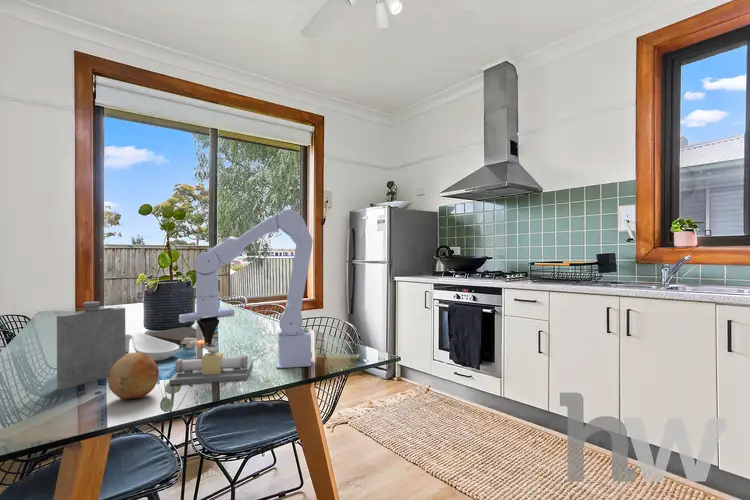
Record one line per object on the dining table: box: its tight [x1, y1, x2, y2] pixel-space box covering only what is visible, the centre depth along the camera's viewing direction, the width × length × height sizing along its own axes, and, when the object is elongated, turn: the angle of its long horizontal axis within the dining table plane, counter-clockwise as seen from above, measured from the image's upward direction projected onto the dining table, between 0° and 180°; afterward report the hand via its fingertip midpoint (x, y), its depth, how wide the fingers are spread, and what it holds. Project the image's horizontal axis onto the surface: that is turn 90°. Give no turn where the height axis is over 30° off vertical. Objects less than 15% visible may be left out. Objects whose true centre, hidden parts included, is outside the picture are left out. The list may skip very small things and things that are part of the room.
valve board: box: [169, 352, 254, 386], centre depth 107 cm, size 18×14×6 cm
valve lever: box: [194, 340, 219, 353], centre depth 108 cm, size 11×2×2 cm, turn 43°
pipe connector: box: [183, 324, 217, 359], centre depth 124 cm, size 10×10×10 cm
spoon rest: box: [125, 332, 180, 362], centre depth 125 cm, size 24×12×7 cm, turn 66°
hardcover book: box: [145, 326, 219, 346], centre depth 154 cm, size 16×23×2 cm
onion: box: [107, 352, 160, 400], centre depth 89 cm, size 10×10×10 cm
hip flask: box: [56, 301, 127, 391], centre depth 103 cm, size 16×4×20 cm, turn 154°
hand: (208, 345), depth 111 cm, fingers closed
